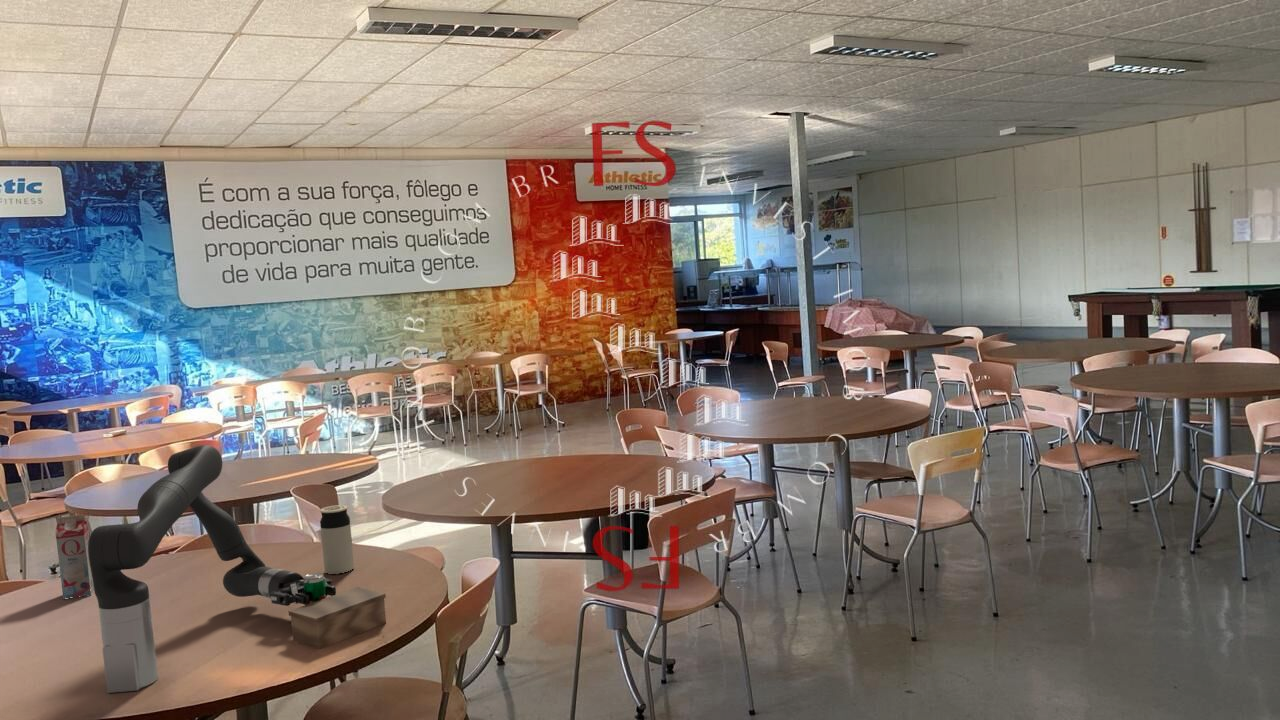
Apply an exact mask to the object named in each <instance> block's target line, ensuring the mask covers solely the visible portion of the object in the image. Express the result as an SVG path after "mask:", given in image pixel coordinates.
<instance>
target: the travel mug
mask: <svg viewBox="0 0 1280 720" xmlns="http://www.w3.org/2000/svg"><path fill="white" fill-rule="evenodd" d="M348 508H349V506H348V505H345V504H338V505H337V504H335V505H329V506H326V507H325V506H324V507H322V508H321V509H320V510H319V511H320V513H321V518H320V520H319V523H320V535H321V544H322V557H323V568H324V573H325V574H327V573H328V575H331V574H336V575H339V574H338V573H343V572H347V573H349V572H351V571H353V570H354V568H355V561H354V552H353V539H352V528H351V518H350V516H349V515H348ZM352 569H353V570H352ZM350 570H351V571H350ZM348 571H349V572H348ZM343 574H344V573H343Z"/></svg>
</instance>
